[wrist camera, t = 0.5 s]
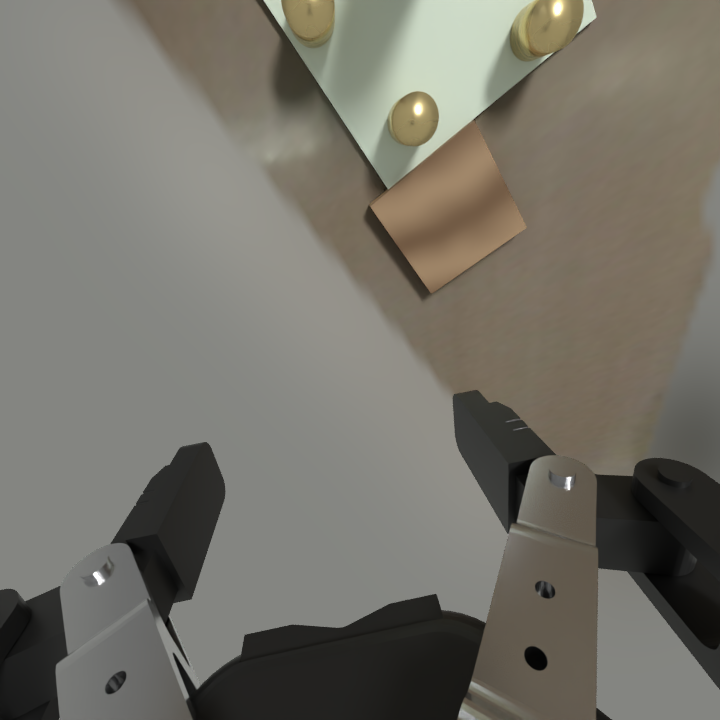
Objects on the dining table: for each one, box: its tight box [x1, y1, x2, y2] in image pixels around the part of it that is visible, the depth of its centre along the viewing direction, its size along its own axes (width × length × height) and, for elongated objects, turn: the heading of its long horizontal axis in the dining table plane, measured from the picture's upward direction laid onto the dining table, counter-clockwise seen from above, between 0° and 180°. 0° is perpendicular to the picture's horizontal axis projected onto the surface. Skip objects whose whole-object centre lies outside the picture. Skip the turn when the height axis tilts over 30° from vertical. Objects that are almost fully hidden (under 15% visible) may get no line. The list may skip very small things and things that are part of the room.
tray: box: [369, 120, 527, 294], centre depth 32 cm, size 10×10×1 cm
